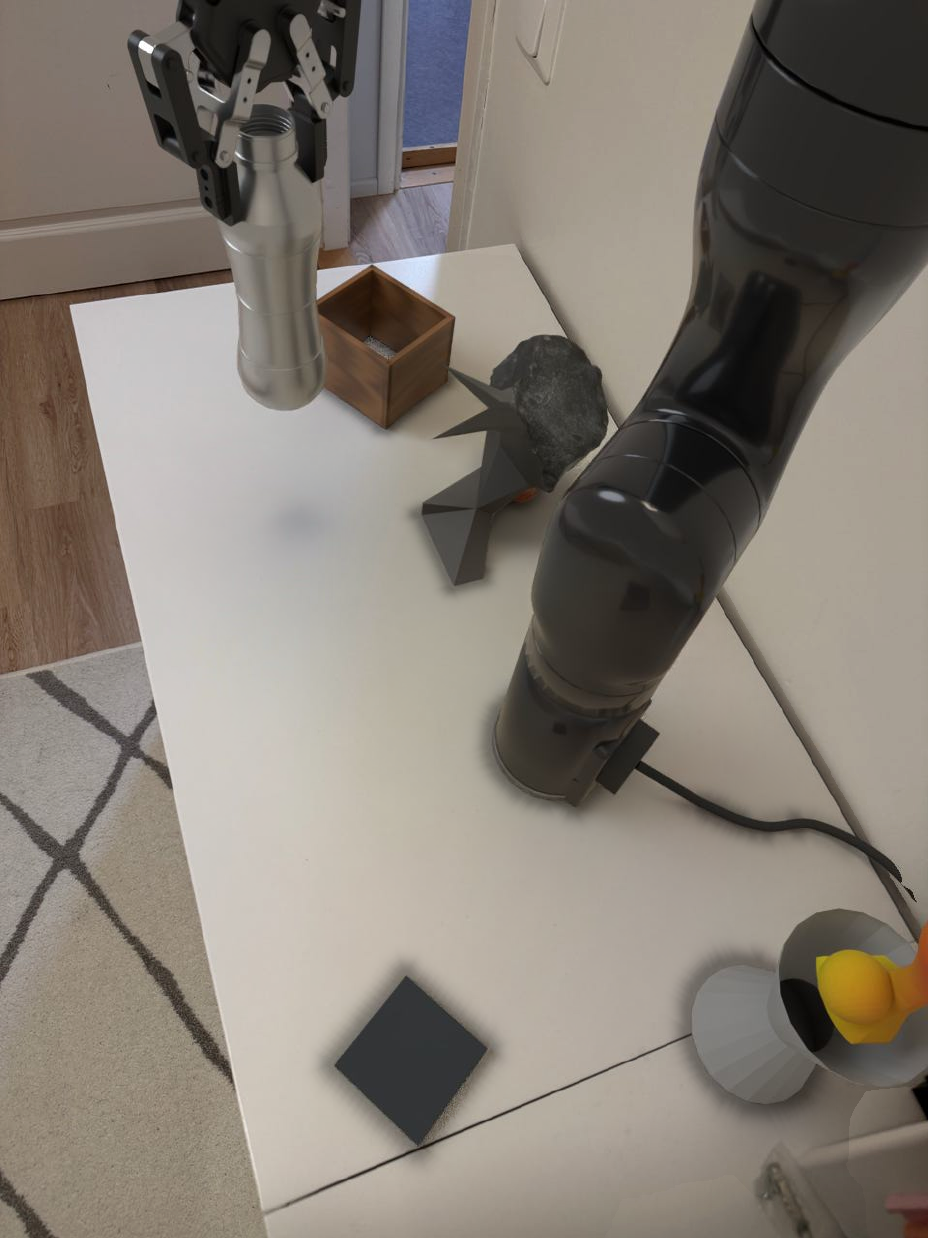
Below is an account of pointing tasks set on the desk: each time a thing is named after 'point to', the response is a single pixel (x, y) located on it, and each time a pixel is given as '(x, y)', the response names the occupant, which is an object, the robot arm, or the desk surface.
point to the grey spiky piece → (517, 443)
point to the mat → (411, 1059)
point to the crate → (397, 323)
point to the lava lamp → (818, 1010)
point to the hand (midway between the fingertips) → (268, 195)
